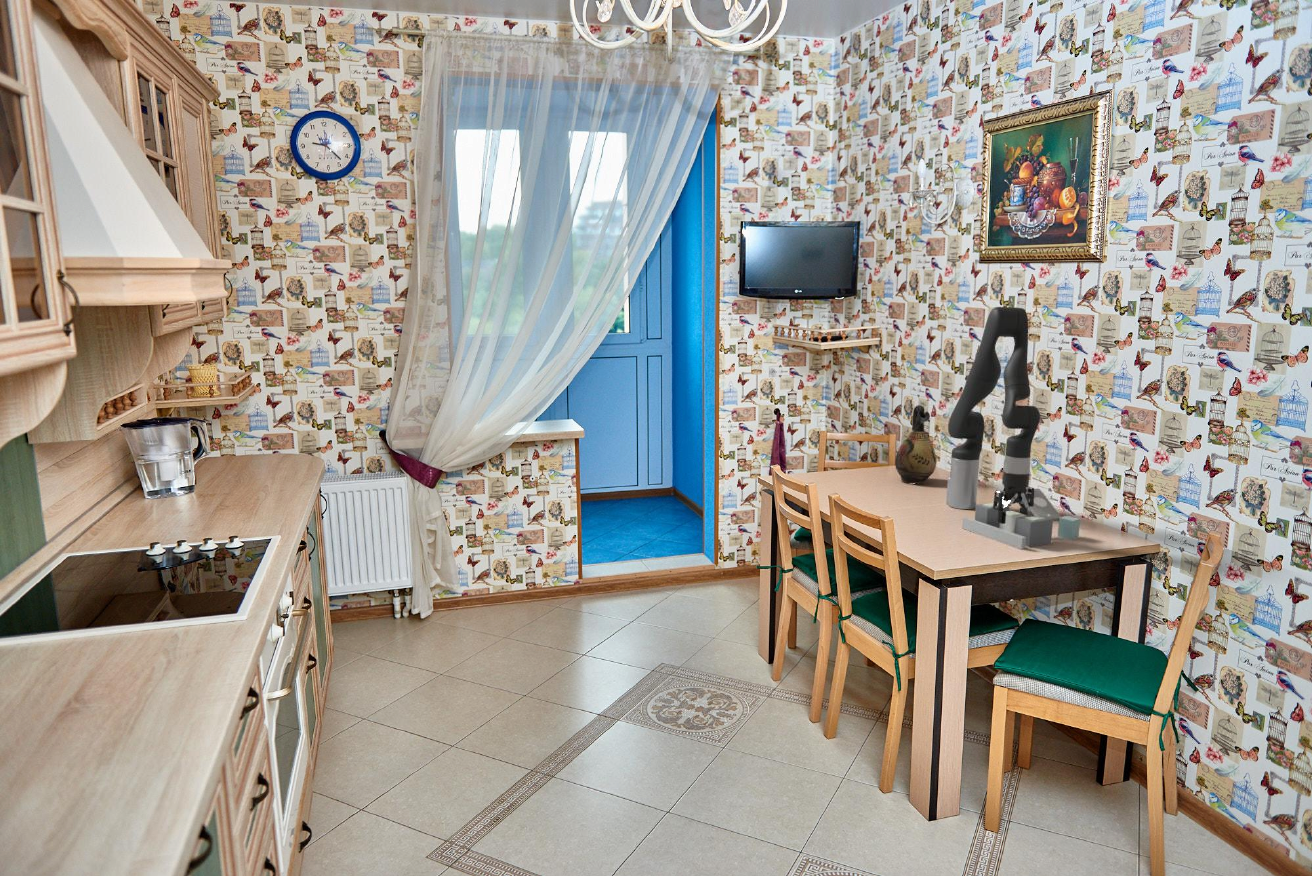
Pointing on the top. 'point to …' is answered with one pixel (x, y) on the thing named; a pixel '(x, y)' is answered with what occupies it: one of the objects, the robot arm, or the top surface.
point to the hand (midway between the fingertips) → (1012, 521)
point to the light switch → (1043, 506)
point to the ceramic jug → (916, 452)
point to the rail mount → (1027, 534)
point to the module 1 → (1011, 521)
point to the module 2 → (1068, 527)
